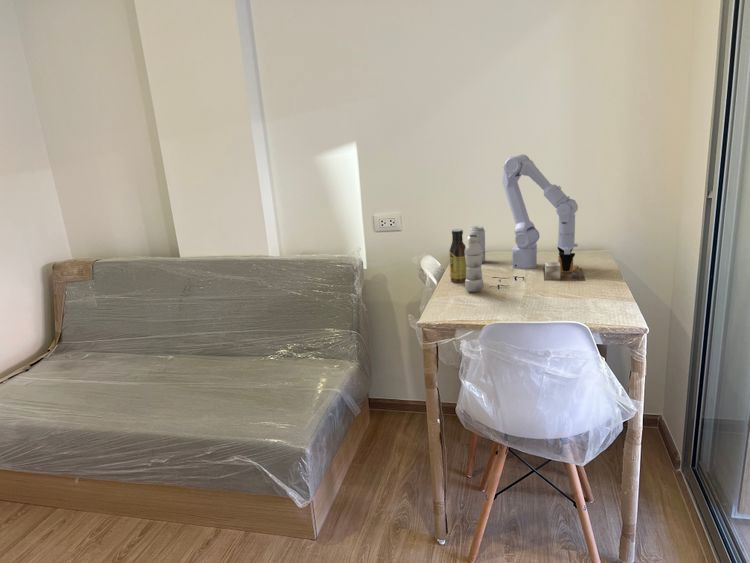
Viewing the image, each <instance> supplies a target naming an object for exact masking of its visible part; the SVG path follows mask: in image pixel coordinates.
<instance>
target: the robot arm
mask: <svg viewBox="0 0 750 563" xmlns="http://www.w3.org/2000/svg"><path fill="white" fill-rule="evenodd" d="M502 168H503V172H502V185H503V188H504V191H505V195H506V198H507V200H508V204H509V207H510V210H511V213H512V217H513V220H514V223H515V227H514V234H515V237H514V242H515V244H516V245H517V246H513V247H512V260H511V265H512V269H524V270H525V269H527V270H528V269H530V270H531V269H534V268H537V265H538V264H537V261H538V260H537V259H538V257H537V254H538V252H537V250H538V248H537V247H538V244H537V242H538V241H539V239H540V232H539V230H538V229H537V228H536V227H535V224H534V222H532V221H531V220H530V217H529V214H528V210H527V207H526V205H525V202H524V198H523V195H522V191H521V189H520V186H519V183H518V182H519V181H520V178H521V176H526V177H529V178H530V179H531V180H532V181H533V182H534V183H535V184H536V185H537V186H539V188H540V189H542V190H543V196H544V198H546V199H547V201H548V202H549V203H550V204H551V205H552V206H553V207H554V208H555V209H556V210H555V211H556V214H557V215H558V235H557V239H558V240H557V250H558V256H560V258H561V261H562V268H563V271H569V270H570V266H571V262H572V259H573V260H574V257H575V255H576V253H575V252H572V251H573V249H574V248H575V247H576V248H577V247H578V245H579V244H578V243H575V241H576V240H575V234H576V213H577V211H578V208H579V207H578V205H579V204H578V203H577V202H576V200H575V199H573V198H571V197H570V195H569V196H567V194H565V193H564V191H563V190H562V187H561V186H560V185H558V184H552V183H551V182H550V181H549V179H547V177H546V176H545V175H544V174H543V173H542V172H541V171H540V169H539V168H538V166H536V164H535V163H534V161H533V160H532V159H530V158H529V156H528V155H526V154H519V155H516V156H510V157H508V158H507V159H506V160H505V162H504V163H503V165H502Z"/></svg>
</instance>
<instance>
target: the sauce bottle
mask: <svg viewBox="0 0 750 563" xmlns="http://www.w3.org/2000/svg"><path fill="white" fill-rule="evenodd" d="M451 235H452V236H451V237H452V238H451V239H452V240H451V245H450V248H449V252H448V254H449V277H450V281H451V282H452V283H465V280H466V259H465V253H464V251H465V248H466V246H467V245H465V243H464V241H463V239H464V238H463V235H464V230H463V229H462V228H454V229H452V230H451Z"/></svg>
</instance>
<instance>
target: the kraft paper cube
mask: <svg viewBox="0 0 750 563" xmlns="http://www.w3.org/2000/svg"><path fill="white" fill-rule="evenodd" d="M557 258H558V261H557V262H560V272H573V266H574V258H573V259H572V262H571V266H570V270H569V271H563V268H562V261H561V258H560V256H559V255H558V257H557Z"/></svg>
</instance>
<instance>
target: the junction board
mask: <svg viewBox="0 0 750 563" xmlns="http://www.w3.org/2000/svg"><path fill="white" fill-rule="evenodd" d="M542 271H543V280H544V281H550V282H551V281H552V282H554V281H555V282H556V281H557V282H565V281H566V282H586V278H585V274H584V272H583V268H581V267H580V266H579V265H573V272H560V262H558V261H557V262H556V261H555V262H554V261H552V262H551V261H549V262H547V261H546V262H545V266H544V267H543V268H542Z"/></svg>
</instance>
